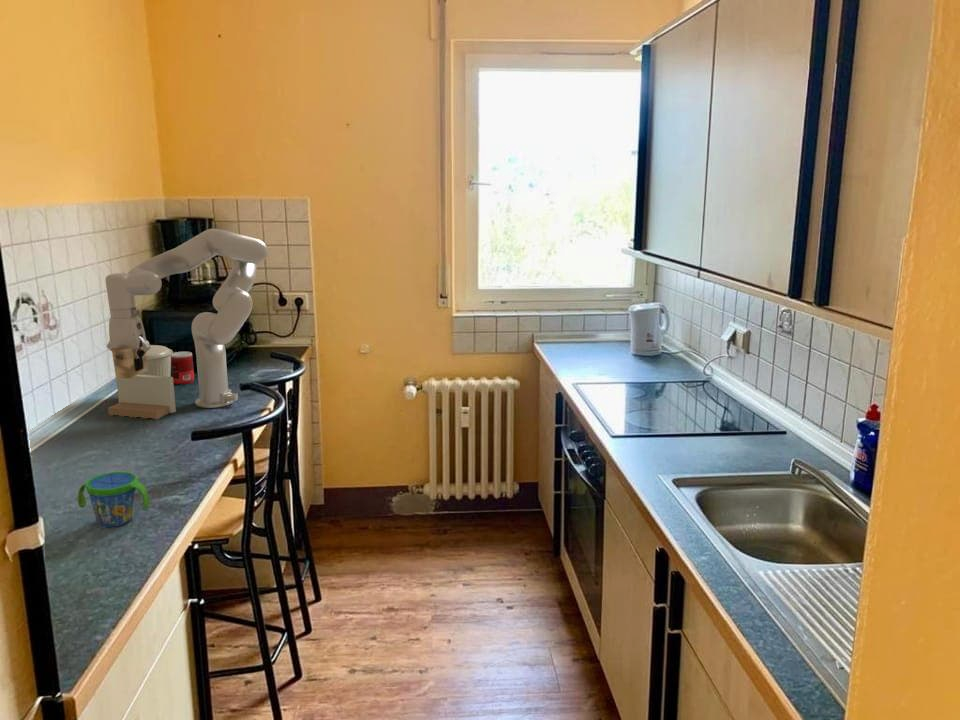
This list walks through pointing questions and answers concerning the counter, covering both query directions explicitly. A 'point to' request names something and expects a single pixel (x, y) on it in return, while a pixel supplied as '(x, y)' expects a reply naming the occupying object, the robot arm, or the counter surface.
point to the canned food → (182, 367)
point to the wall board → (144, 397)
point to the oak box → (126, 363)
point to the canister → (158, 361)
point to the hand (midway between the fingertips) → (131, 368)
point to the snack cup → (113, 497)
